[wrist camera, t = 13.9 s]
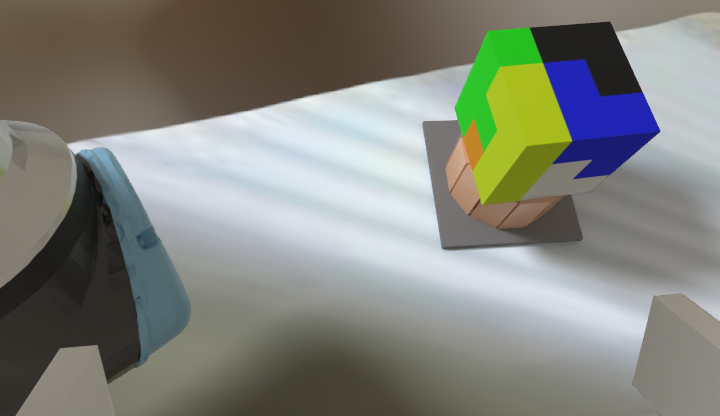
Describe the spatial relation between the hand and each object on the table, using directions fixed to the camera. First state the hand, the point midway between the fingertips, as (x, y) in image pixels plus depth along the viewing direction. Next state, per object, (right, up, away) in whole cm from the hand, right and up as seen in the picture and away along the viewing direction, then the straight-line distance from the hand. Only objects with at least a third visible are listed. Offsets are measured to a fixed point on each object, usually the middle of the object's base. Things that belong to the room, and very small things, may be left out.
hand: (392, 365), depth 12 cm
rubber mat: (+13, +7, +40) cm, 42 cm away
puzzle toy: (+14, +9, +34) cm, 37 cm away
